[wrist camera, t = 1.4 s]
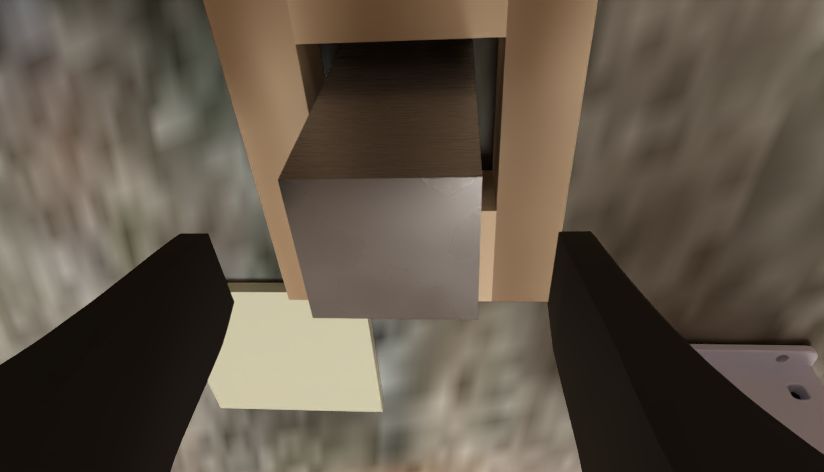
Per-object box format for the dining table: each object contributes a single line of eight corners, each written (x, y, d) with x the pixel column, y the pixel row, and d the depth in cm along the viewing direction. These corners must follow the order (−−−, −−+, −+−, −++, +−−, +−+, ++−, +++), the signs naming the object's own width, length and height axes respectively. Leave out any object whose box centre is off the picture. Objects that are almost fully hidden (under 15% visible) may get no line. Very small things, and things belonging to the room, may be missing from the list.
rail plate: (599, -177, 13) (624, -173, 11) (542, 257, 22) (551, 301, 20) (203, -149, 14) (161, -142, 12) (303, 257, 22) (288, 299, 21)
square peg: (472, 36, 16) (482, 177, 10) (470, 150, 19) (477, 319, 13) (344, 41, 17) (277, 179, 10) (359, 152, 19) (312, 317, 13)
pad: (365, 283, 23) (363, 292, 23) (383, 402, 29) (382, 412, 28) (169, 282, 24) (163, 291, 23) (224, 398, 30) (220, 407, 29)
